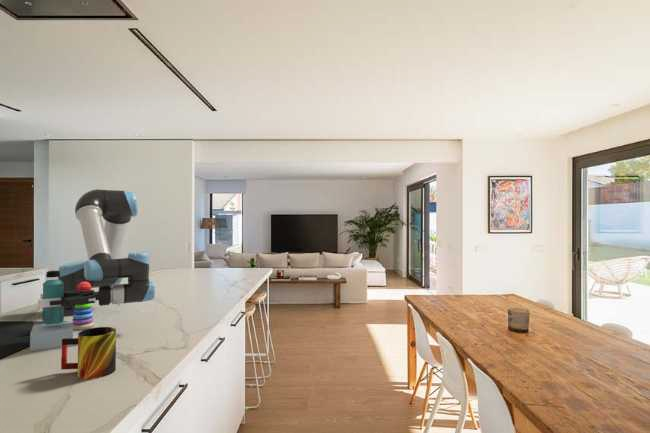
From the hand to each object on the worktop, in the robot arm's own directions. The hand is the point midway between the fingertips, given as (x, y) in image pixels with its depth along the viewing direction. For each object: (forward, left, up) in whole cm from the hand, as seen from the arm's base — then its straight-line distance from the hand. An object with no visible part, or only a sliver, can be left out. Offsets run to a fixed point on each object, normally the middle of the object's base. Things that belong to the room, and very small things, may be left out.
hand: (39, 300), depth 139 cm
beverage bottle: (-4, +2, -10) cm, 11 cm away
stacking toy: (-20, -9, -16) cm, 27 cm away
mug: (+6, +40, -16) cm, 43 cm away
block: (-3, +2, -16) cm, 16 cm away
